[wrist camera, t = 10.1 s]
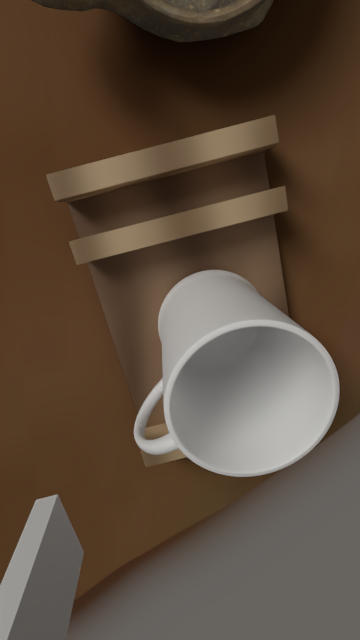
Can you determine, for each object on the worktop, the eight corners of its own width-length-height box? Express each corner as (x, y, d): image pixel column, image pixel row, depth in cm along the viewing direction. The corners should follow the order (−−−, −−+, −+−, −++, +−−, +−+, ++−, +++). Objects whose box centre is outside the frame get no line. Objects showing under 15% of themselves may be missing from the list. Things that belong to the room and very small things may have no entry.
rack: (147, 434, 31) (145, 467, 27) (64, 181, 24) (45, 174, 20) (297, 397, 30) (317, 424, 26) (255, 131, 24) (275, 114, 20)
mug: (166, 411, 29) (172, 542, 17) (102, 336, 26) (60, 429, 15) (284, 333, 27) (376, 419, 16) (227, 246, 25) (287, 272, 13)
